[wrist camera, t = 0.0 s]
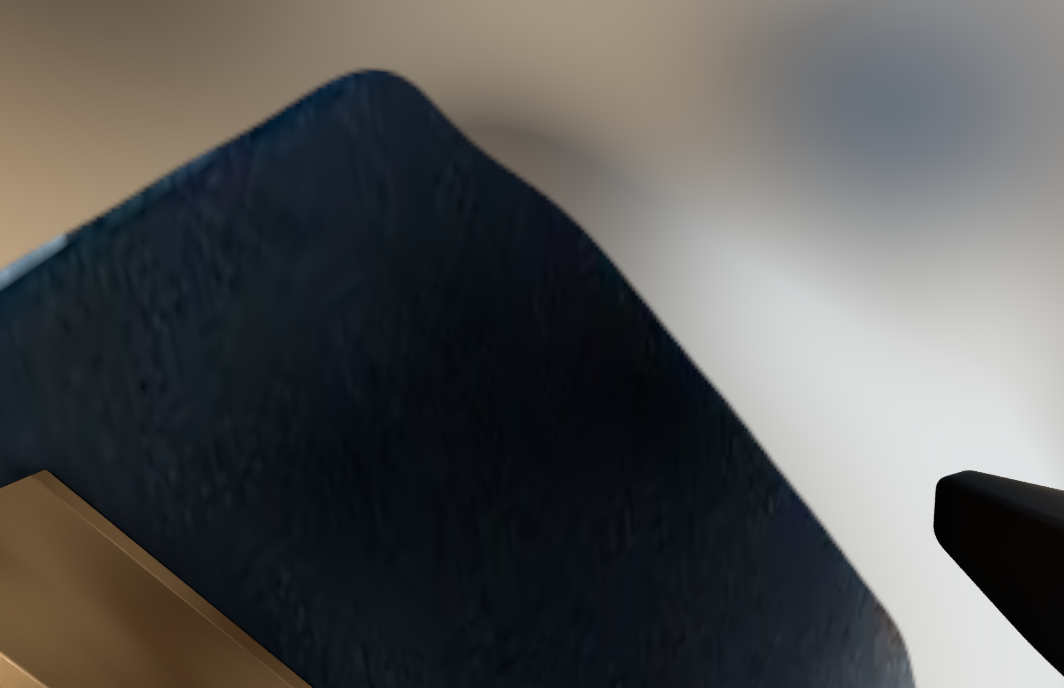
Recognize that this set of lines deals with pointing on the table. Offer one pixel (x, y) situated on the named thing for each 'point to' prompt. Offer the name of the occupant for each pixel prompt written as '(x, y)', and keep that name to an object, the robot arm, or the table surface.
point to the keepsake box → (107, 607)
